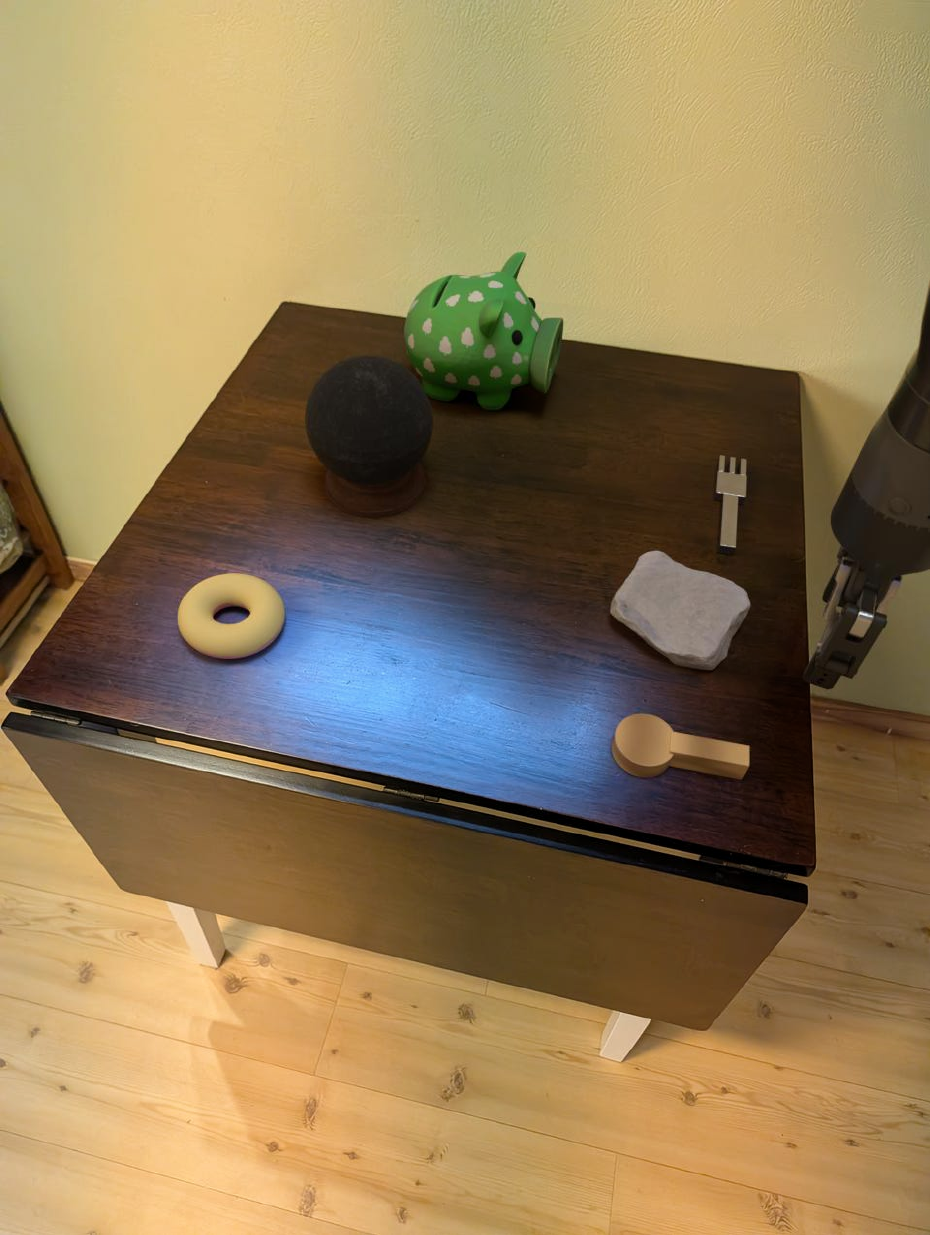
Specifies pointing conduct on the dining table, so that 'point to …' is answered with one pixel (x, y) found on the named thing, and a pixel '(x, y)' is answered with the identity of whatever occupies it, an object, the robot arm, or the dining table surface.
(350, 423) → the black ball on stand
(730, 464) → the fork
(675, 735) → the wooden round paddle
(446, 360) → the piggy bank
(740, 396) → the dining table surface
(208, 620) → the donut
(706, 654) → the stone block
